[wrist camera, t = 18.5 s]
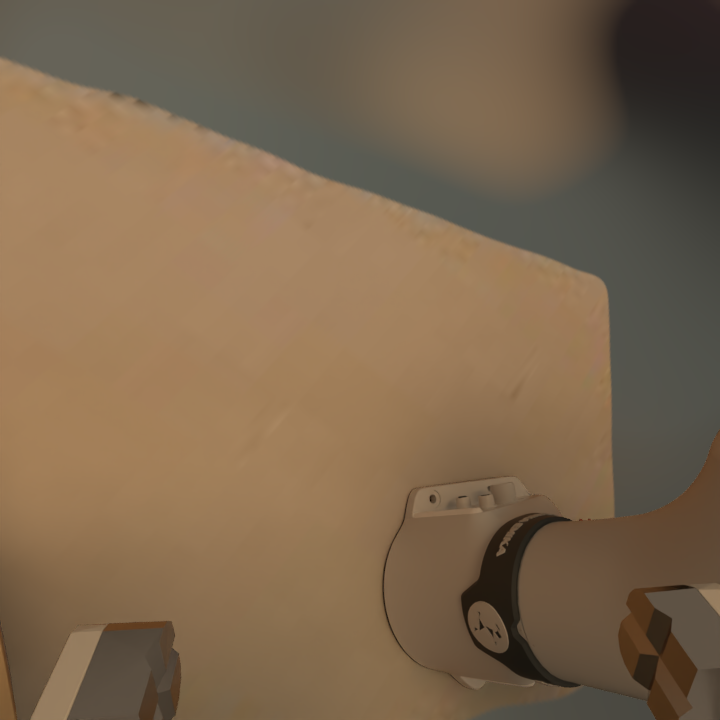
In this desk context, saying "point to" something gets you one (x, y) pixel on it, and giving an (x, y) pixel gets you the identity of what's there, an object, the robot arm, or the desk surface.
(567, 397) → the desk surface
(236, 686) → the desk surface
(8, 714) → the tower top
